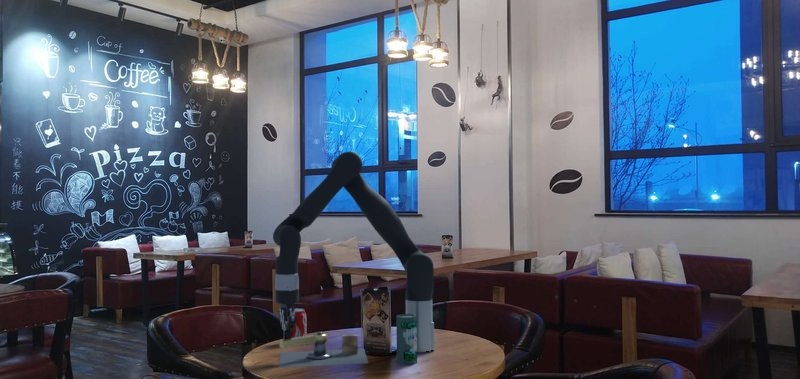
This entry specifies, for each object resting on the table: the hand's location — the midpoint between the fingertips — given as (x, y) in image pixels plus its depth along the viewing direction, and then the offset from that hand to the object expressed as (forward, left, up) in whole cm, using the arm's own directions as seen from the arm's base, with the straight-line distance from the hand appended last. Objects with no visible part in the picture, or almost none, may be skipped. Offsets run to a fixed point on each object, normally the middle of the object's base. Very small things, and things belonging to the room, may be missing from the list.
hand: (287, 341), depth 197 cm
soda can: (-2, -26, -7) cm, 27 cm away
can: (-37, +9, -7) cm, 39 cm away
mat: (-11, -1, -6) cm, 13 cm away
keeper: (-20, -6, -6) cm, 22 cm away
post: (-10, -3, -6) cm, 12 cm away
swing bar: (-5, 0, -1) cm, 5 cm away
